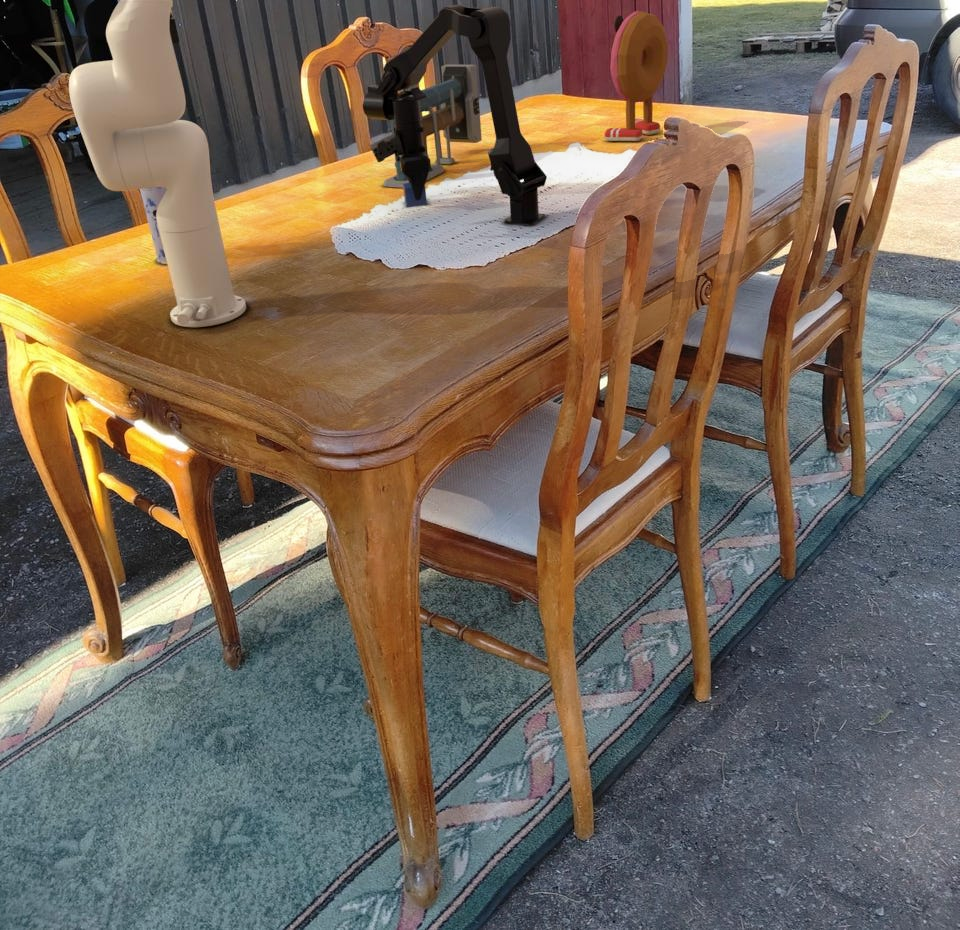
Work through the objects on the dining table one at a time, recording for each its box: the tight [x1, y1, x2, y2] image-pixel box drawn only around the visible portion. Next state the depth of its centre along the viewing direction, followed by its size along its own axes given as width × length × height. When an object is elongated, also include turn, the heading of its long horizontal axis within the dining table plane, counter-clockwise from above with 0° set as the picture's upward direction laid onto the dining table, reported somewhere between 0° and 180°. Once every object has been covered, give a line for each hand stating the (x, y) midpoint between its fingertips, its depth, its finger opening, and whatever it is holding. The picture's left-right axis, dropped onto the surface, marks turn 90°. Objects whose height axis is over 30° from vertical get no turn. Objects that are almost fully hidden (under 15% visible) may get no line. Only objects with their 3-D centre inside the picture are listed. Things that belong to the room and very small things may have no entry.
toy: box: [604, 10, 669, 142], centre depth 247 cm, size 21×10×30 cm, turn 141°
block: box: [402, 183, 428, 208], centre depth 213 cm, size 4×4×4 cm
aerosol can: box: [139, 187, 168, 265], centre depth 188 cm, size 8×8×20 cm
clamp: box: [382, 64, 483, 189], centre depth 235 cm, size 35×9×21 cm, turn 151°
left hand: (167, 46), depth 174 cm, fingers open, 9 cm apart
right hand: (415, 194), depth 214 cm, fingers open, 8 cm apart
